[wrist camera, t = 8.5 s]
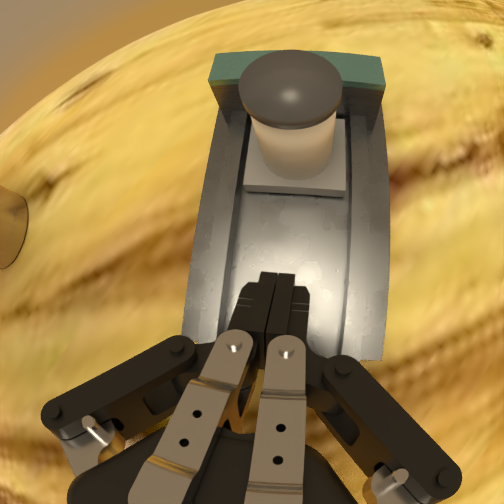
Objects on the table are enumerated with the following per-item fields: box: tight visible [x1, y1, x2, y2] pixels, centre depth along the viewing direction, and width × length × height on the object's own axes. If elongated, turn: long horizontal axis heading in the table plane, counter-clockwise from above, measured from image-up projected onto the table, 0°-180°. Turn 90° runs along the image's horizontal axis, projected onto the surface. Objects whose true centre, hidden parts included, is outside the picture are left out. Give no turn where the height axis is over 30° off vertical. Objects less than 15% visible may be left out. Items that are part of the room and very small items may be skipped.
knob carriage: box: [238, 50, 346, 197], centre depth 18 cm, size 7×6×8 cm
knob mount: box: [181, 50, 390, 362], centre depth 20 cm, size 14×22×7 cm, turn 174°
